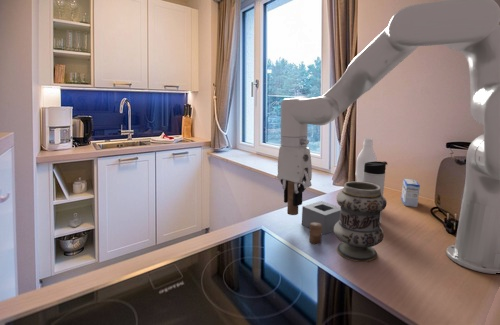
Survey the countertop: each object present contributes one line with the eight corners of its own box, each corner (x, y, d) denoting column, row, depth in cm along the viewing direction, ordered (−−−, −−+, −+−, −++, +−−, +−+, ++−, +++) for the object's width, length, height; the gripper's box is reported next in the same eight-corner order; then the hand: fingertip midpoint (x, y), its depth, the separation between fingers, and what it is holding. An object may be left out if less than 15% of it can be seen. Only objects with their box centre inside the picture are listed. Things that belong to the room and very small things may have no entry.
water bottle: (352, 205, 113) (357, 138, 107) (353, 199, 119) (358, 136, 114) (372, 207, 110) (379, 140, 105) (373, 201, 116) (379, 137, 111)
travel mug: (383, 226, 93) (389, 164, 89) (360, 225, 94) (366, 163, 90) (378, 219, 99) (384, 160, 95) (358, 217, 100) (363, 159, 96)
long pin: (300, 213, 89) (301, 181, 87) (292, 216, 88) (293, 182, 86) (292, 210, 92) (293, 179, 90) (285, 212, 90) (285, 180, 88)
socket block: (343, 227, 93) (344, 208, 92) (324, 234, 88) (325, 215, 86) (320, 218, 100) (321, 200, 99) (301, 224, 95) (302, 206, 93)
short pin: (323, 242, 83) (324, 225, 82) (315, 245, 81) (316, 228, 80) (314, 238, 85) (315, 221, 84) (306, 241, 84) (307, 224, 83)
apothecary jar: (369, 241, 84) (375, 178, 80) (390, 264, 72) (399, 192, 68) (326, 241, 83) (330, 179, 80) (341, 265, 72) (347, 192, 68)
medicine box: (400, 199, 120) (403, 178, 118) (413, 200, 118) (415, 179, 116) (404, 205, 112) (406, 183, 110) (417, 207, 111) (420, 184, 109)
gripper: (325, 143, 81) (322, 208, 85) (284, 138, 94) (283, 194, 98) (305, 146, 77) (304, 214, 81) (265, 140, 90) (265, 199, 94)
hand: (292, 202), depth 89 cm, fingers closed on long pin, 3 cm apart
